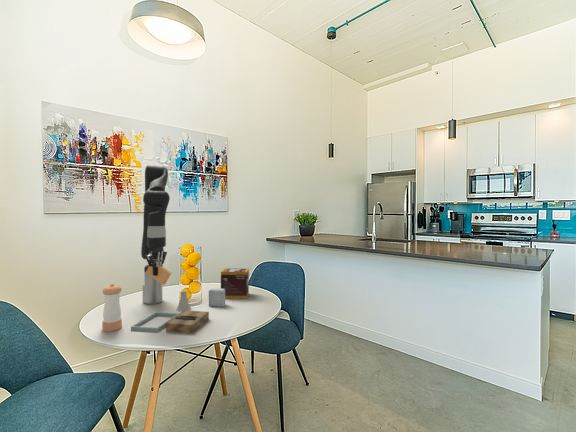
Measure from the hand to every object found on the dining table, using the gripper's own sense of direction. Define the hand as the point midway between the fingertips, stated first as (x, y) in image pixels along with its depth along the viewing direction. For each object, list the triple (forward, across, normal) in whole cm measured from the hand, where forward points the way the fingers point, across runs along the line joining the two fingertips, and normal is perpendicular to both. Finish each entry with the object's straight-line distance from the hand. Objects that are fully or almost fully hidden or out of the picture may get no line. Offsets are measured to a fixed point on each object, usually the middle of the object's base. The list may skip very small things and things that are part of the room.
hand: (156, 275), depth 133 cm
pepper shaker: (+23, +6, -17) cm, 29 cm away
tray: (+22, 0, 0) cm, 22 cm away
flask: (+23, -19, +3) cm, 30 cm away
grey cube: (+23, -31, +16) cm, 42 cm away
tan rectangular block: (+2, 0, +5) cm, 5 cm away
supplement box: (+23, -50, +20) cm, 58 cm away
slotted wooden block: (+22, 0, +15) cm, 27 cm away
